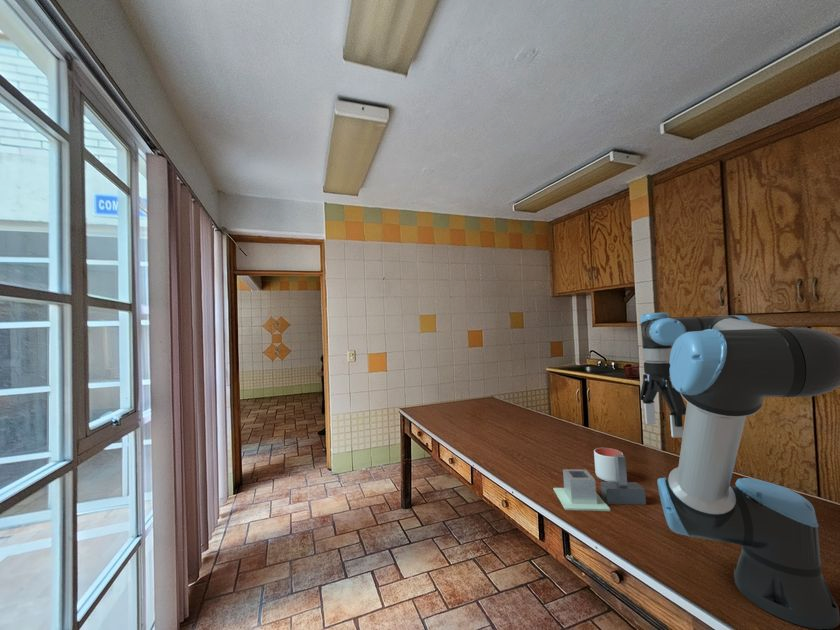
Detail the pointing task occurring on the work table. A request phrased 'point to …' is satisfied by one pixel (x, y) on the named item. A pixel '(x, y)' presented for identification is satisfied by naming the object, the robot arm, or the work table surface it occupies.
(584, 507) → the mat
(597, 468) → the cup
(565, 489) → the collar
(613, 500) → the grey block
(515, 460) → the work table surface
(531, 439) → the work table surface
